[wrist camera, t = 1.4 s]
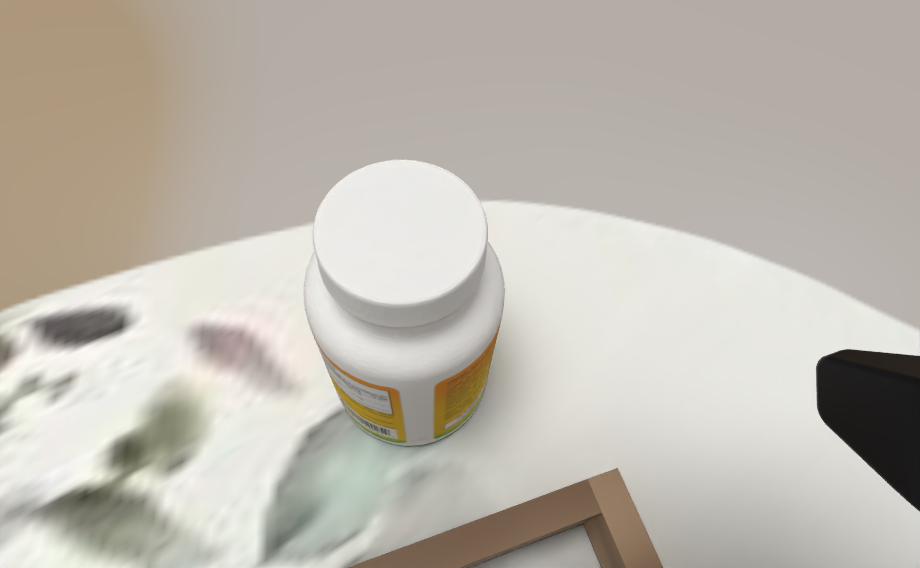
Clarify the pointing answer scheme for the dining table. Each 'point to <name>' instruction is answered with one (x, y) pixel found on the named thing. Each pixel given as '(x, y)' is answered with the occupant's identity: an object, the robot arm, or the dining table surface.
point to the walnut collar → (540, 530)
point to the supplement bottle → (404, 299)
